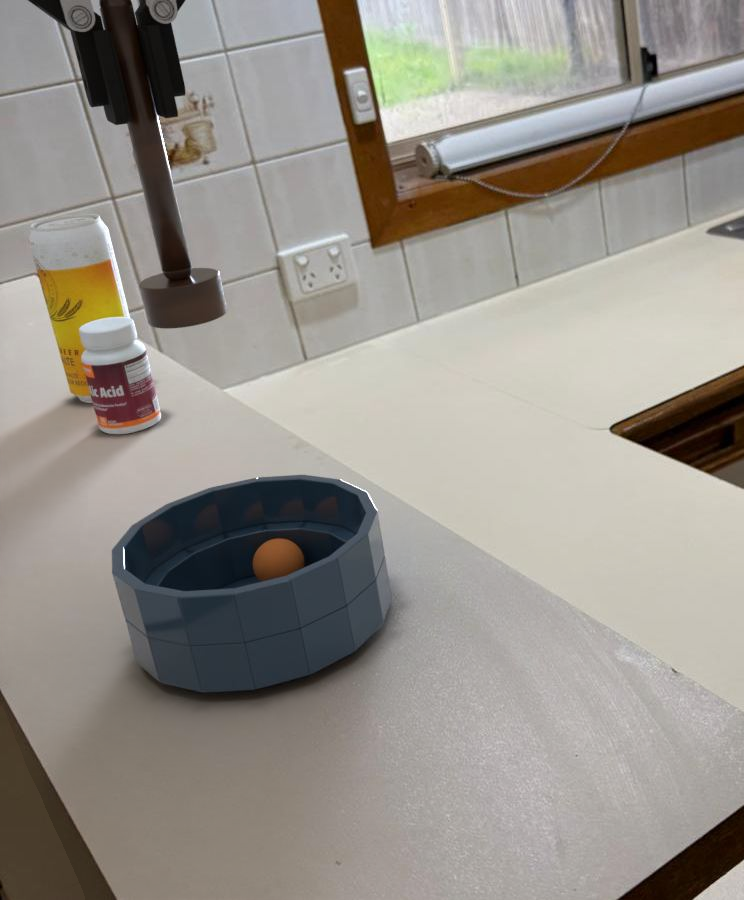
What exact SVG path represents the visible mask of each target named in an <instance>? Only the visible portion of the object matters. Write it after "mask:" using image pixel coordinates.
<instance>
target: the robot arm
mask: <svg viewBox="0 0 744 900" xmlns="http://www.w3.org/2000/svg"><path fill="white" fill-rule="evenodd" d="M27 1H28V2H29V3H31V4H32V5H33V6H35V7H36V8H38V9H39V10H40V11H42V12H43V13H45V15H48V16H49V17H50V18H51V19H53V20H54V21H56V22H57V23H59V24H60V26H62V27H63V28H64V29H66V30H68V31H70V34H71V40H72V44H73V47H74V51H75V55H76V59H77V63H78V68H79V72H80V75H81V80H82V84H83V88H84V91H85V92H84V93H85V95H86V99H87V102H88V104H89V105H88V106H89V107H91V108H98V107H103V111H104V114H105V118H106V120H107V121H108V122H109V123H111V124H113V125H115V126H119V125H127V124H128V120H132V117H131V112H130V108H129V104H128V99H127V95H126V91H125V87H124V82H123V78H122V74H121V70H120V65H119V61H118V57H117V53H116V49H115V44H114V40H113V36H112V34H111V32H107V30H105V29H104V25H103V21H102V17H101V15H100V14H98V13H97V12H95V11H94V7H93V4H92V0H27ZM136 2H137V9H136V10H135V11H134V14H135V18H136V22H137V27H138V33H139V37H140V42H141V46H142V51H143V55H144V59H145V64H146V68H147V72H148V77H149V81H150V86H151V90H152V94H153V99H154V103H155V108H156V112H157V115H158V117H162V118H165V119H172V118H178V117H179V112H178V111H179V110H178V106H177V101H176V98H177V97H184V96H186V92H187V91H186V85H185V80H184V75H183V70H182V66H181V62H180V56H179V52H178V47H177V43H176V38H175V34H174V29H173V24H172V23H173V22H174V21H175V19H176V18H177V16H178V13H179V11H180V9H181V8H182V6H184V3H185V2H186V0H136Z"/></svg>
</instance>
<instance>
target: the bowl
mask: <svg viewBox="0 0 744 900" xmlns="http://www.w3.org/2000/svg"><path fill="white" fill-rule="evenodd" d="M278 538H281V539H287V540H290V541H292V542H293V543H295V544H296V545H297V546H298V547H299V548H300V550H301V551H302V553H303V556H304V562H305V563H304V568H302V569H300V570H298V571H296V572H293V573H291V574H289V575H287V576H283V577H279V578H275V579H271V580H267V581H263V582H260V581H259V580H258V579H257V577H256V575H255V573H254V570H253V558H254V555H255V553H256V551H257V550H258V548H259V547H260V546H261V545H262V544H264V543H265V542H267V541H269V540H272V539H278ZM386 559H387V558H386V554H385V548H384V541H383V536H382V531H381V525H380V519H379V512H378V509H377V507H376V506H375V504H374V502H373V500H372V498H371V495H370V494H369V493H368V491H366V490H364V489H362V488H360V487H358V486H356V485H353V484H352V483H349V482H347V481H346V480H343V479H340V478H333V477H324V476H316V475H310V474H291V475H289V474H288V475H275V476H260V477H259V476H258V477H253V478H248V479H244V480H238V481H235V482H229V483H224V484H221V485H215V486H210V487H208V488H205V489H203V490H200V491H198V492H194V493H192V494H189V495H186V496H184V497H182V498H179V499H176V500H174V501H171V502H168V503H166V504H164V505H162V506H161V507H159V508H158V509H156V510H154V511H153V512H151V513H149V514H148V515H146V516H145V517H143V518H141V519H140V520H138V521H137V522H135V523H133V524H132V525H131V526H130V527H129V528H128V530H127V531H126V532H125V534H123V536H122V537H121V538H120V539H119V540H118V542H117V543H116V544H115V545H114V546H113V547H112V549H111V575H112V577H113V581H114V584H115V588H116V591H117V595H118V599H119V602H120V607H121V609H122V613H123V616H124V619H125V623H126V627H127V631H128V635H129V638H130V641H131V645H132V649H133V652H134V656H135V659H136V662H137V664H138V665H139V666H140V667H141V668H142V669H143V670H144V671H146V673H148V674H149V675H151V677H153V679H155V680H156V681H158V683H160V684H162V685H168V686H172V687H177V688H180V689H186V690H190V691H194V692H199V693H219V692H220V693H221V692H239V691H254V690H259V689H262V688H267V687H272V686H275V685H280V684H284V683H287V682H290V681H293V680H296V679H299V678H303V677H306V676H309V675H313V674H314V673H317V672H319V671H320V670H322V669H324V668H326V667H328V666H330V665H332V664H334V663H336V662H338V661H340V660H341V659H343V658H345V657H348V656H349V655H352V654H353V653H354V652H356V651H358V649H359V648H360V647H361V646H362V645H363V644H364V643H365V642H367V641H368V640H369V638H371V637H372V636H373V635H374V634H375V633H376V632H377V631H378V630H379V629H380V628H381V627H382V626H383V624H384V623H385V622H384V621H385V619H386V616H387V613H388V610H389V608H390V605H391V602H392V598H393V596H392V589H391V585H390V584H391V583H390V578H389V571H388V565H387V560H386Z"/></svg>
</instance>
